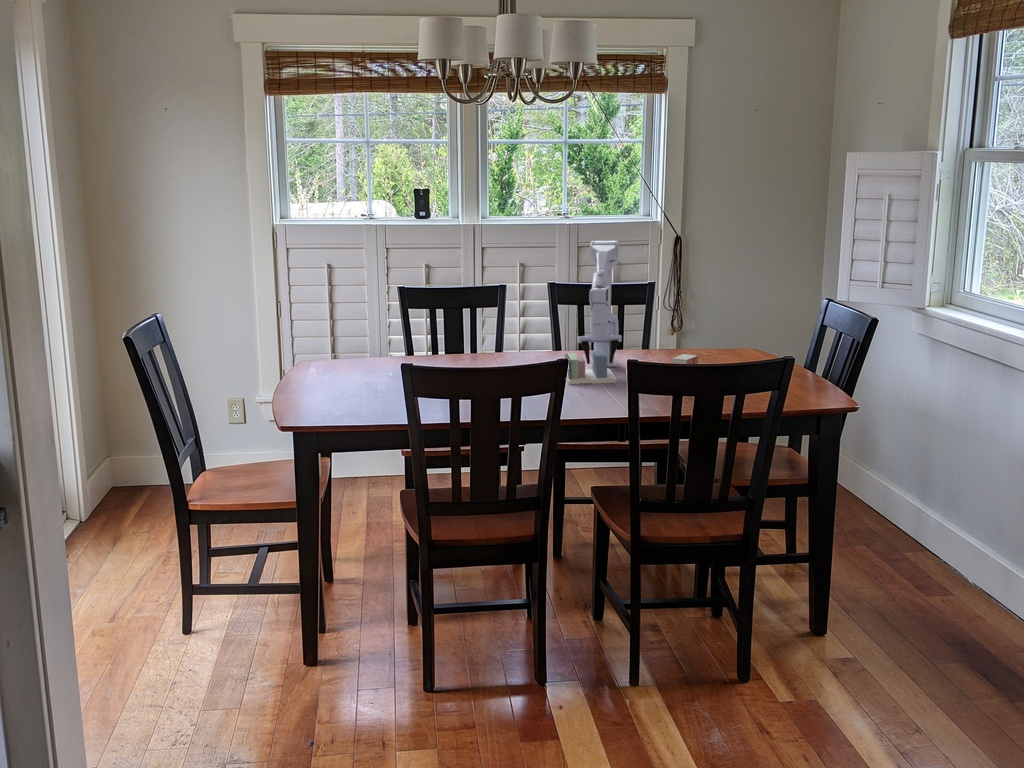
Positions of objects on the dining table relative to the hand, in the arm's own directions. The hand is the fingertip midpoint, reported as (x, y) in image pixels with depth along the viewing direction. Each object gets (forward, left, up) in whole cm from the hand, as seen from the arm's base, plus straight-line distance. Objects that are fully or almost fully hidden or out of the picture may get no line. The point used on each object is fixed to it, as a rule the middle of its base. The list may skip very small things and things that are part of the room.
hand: (599, 363), depth 332 cm
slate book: (0, 0, -4) cm, 4 cm away
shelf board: (0, -4, -5) cm, 6 cm away
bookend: (0, -11, -4) cm, 11 cm away
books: (0, -8, -4) cm, 9 cm away
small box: (+19, +24, -5) cm, 31 cm away
